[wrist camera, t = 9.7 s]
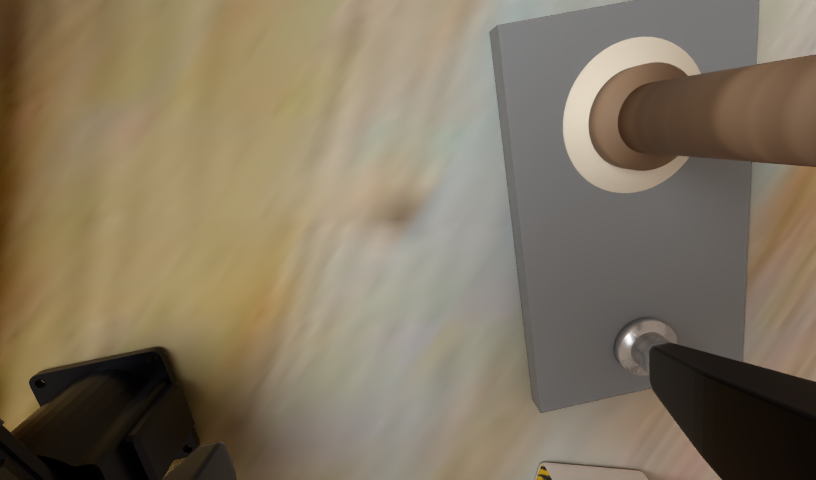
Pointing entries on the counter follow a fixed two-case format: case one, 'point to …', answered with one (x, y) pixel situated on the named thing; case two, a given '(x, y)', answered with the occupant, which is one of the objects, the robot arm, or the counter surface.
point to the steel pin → (640, 343)
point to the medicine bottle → (584, 473)
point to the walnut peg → (707, 115)
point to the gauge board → (618, 195)
